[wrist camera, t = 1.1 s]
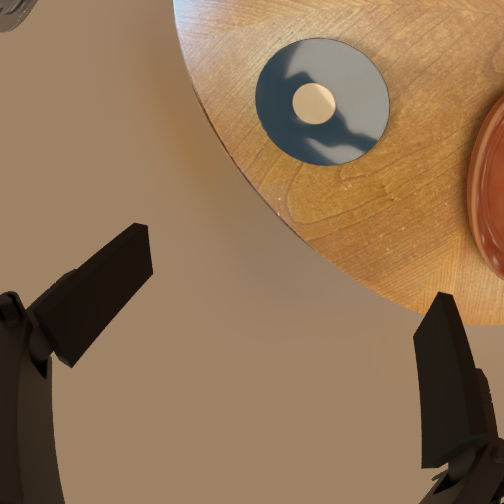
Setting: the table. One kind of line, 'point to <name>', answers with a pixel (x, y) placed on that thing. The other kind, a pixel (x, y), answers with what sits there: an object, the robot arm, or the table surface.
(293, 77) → the lid
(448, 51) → the table surface
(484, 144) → the saucer
